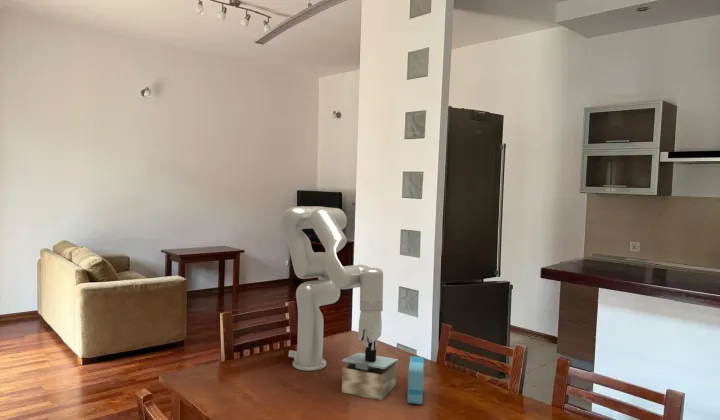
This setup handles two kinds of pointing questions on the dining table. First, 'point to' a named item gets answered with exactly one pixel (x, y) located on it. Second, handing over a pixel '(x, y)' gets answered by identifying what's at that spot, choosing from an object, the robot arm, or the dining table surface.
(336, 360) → the dining table surface
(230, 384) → the dining table surface
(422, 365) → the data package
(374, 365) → the box lid
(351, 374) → the open box
